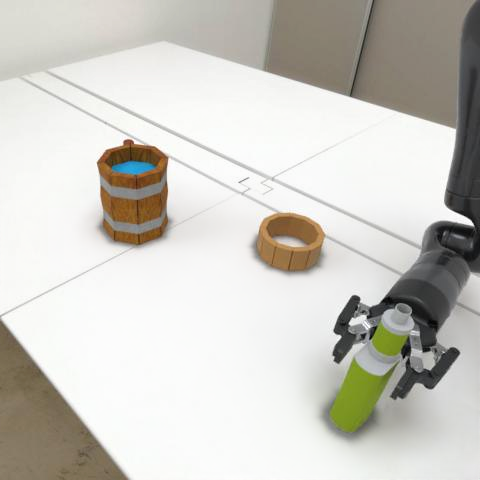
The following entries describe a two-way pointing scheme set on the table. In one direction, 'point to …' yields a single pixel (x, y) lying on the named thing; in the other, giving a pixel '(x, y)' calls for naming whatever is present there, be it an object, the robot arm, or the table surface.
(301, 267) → the wooden ring
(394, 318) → the vape
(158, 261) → the table surface
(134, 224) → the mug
